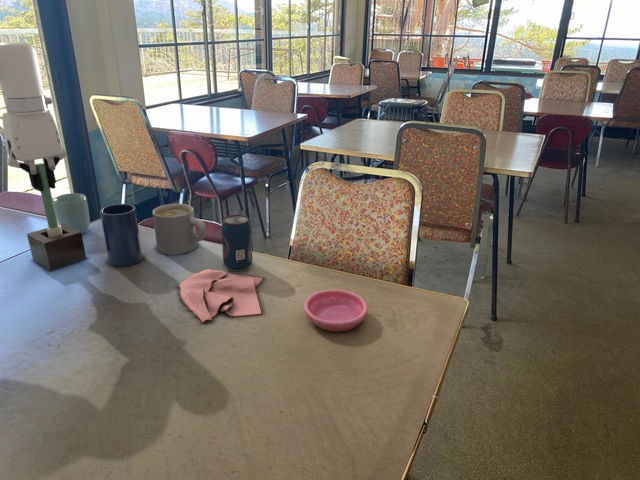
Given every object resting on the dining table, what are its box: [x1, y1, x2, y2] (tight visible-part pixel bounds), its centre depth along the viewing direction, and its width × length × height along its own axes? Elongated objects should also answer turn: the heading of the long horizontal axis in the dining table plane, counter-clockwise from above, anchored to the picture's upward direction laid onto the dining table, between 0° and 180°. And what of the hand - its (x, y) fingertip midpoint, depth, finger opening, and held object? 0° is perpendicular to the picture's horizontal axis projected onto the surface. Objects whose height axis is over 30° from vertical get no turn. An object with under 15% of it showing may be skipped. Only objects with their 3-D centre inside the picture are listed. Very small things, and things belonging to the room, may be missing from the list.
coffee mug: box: [152, 203, 207, 255], centre depth 122 cm, size 13×10×10 cm
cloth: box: [178, 268, 263, 323], centre depth 101 cm, size 20×22×2 cm
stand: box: [26, 224, 87, 272], centre depth 115 cm, size 9×9×7 cm
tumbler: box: [99, 203, 143, 267], centre depth 114 cm, size 8×8×13 cm
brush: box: [35, 162, 62, 238], centre depth 111 cm, size 3×3×20 cm
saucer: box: [303, 289, 369, 333], centre depth 94 cm, size 12×12×3 cm
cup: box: [53, 192, 91, 234], centre depth 129 cm, size 8×8×10 cm
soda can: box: [220, 214, 253, 272], centre depth 113 cm, size 7×7×12 cm
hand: (44, 188), depth 109 cm, fingers closed on brush, 2 cm apart
